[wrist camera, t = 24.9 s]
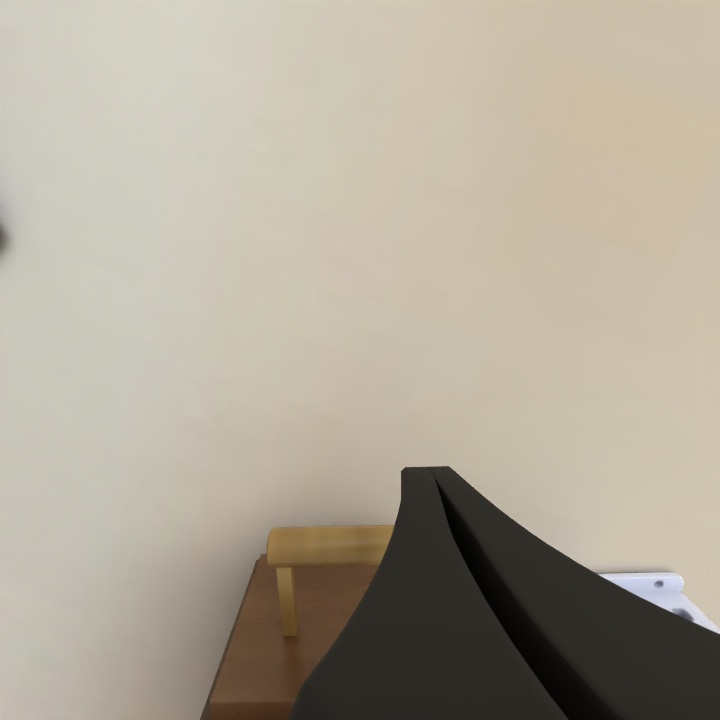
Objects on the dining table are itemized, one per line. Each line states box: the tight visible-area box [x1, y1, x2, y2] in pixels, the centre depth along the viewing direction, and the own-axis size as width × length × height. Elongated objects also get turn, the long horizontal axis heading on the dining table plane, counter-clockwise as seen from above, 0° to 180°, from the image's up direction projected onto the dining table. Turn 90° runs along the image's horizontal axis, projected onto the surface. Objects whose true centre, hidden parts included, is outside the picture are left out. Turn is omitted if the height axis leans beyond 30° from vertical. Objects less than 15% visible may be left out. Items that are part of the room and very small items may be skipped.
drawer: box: [210, 525, 395, 720], centre depth 17 cm, size 18×11×7 cm, turn 1°
